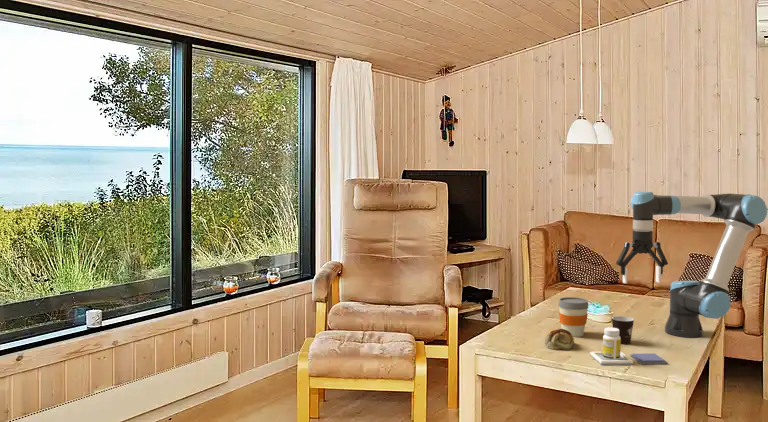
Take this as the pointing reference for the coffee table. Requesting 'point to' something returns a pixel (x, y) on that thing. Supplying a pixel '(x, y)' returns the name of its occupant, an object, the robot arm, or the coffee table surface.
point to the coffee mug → (623, 327)
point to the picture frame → (622, 361)
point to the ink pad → (648, 359)
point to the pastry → (559, 339)
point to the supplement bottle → (611, 344)
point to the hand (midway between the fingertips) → (641, 282)
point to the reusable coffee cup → (573, 315)
